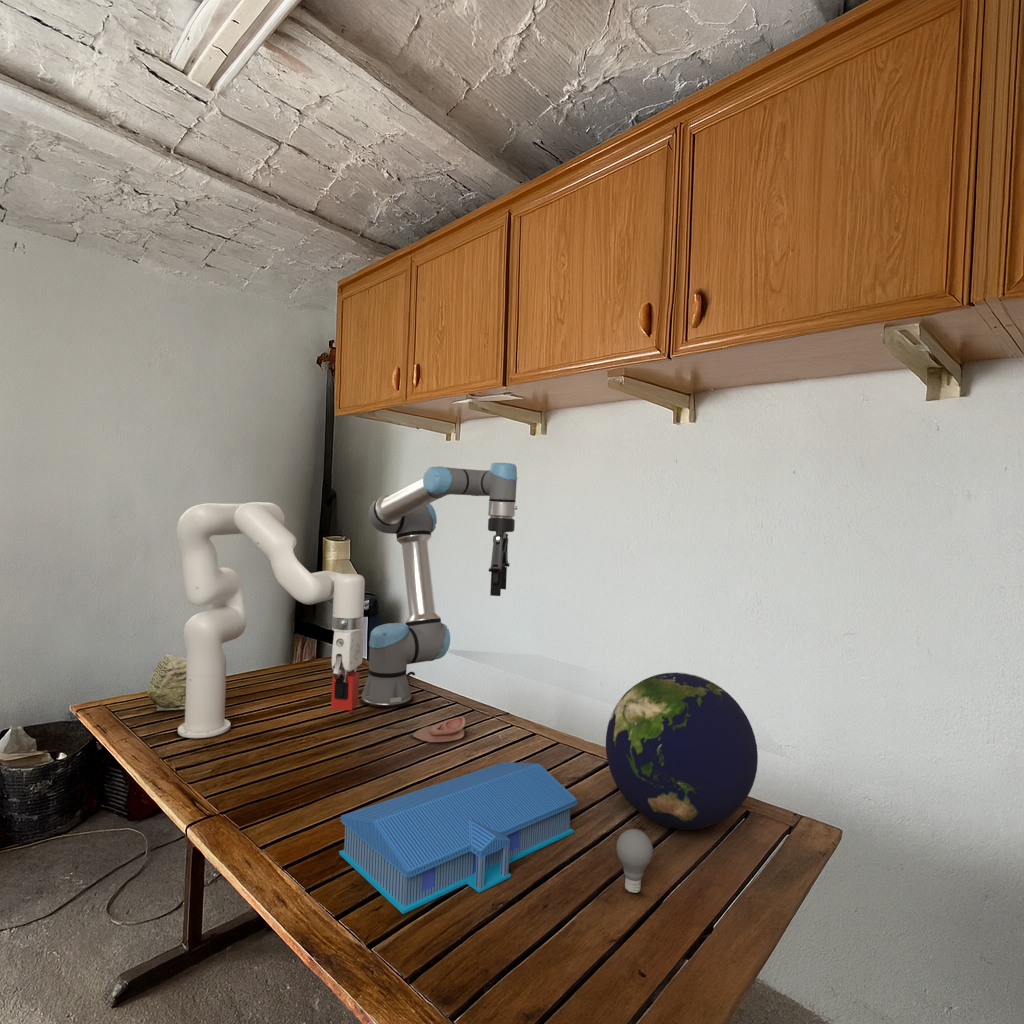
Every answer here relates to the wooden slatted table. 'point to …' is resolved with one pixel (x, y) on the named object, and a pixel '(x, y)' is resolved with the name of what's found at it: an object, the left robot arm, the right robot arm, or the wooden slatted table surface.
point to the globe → (681, 751)
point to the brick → (352, 693)
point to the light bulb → (634, 857)
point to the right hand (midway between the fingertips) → (498, 592)
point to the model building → (456, 832)
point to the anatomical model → (442, 731)
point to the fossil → (169, 683)
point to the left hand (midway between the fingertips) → (344, 694)
